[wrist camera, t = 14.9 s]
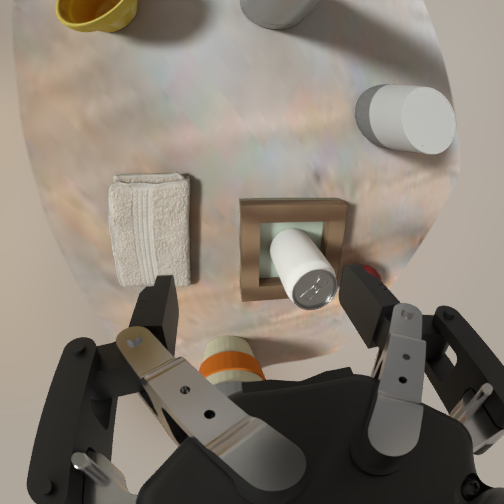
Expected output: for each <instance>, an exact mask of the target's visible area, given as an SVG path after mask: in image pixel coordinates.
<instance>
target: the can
mask: <svg viewBox="0 0 504 504" xmlns="http://www.w3.org/2000/svg"><path fill="white" fill-rule="evenodd" d="M270 255H271V258H272V260H273V263H274V265H275V268H276V270H277V272H278V275H279V277H280V279H281V282H282V284H283V287H284V289H285V291H286V293H287V295H288V297H289V298H290V299H291V300H292V301H293V302H294V303H295V304H296V305H297V306H298V307H300V308H302V309H305V310H315V309H319V308H321V307H323V306H325V305H327V304H328V303H329V302H330V301H331V300H332V299H333V297H334V296H335V294H336V292H337V287H338V284H337V279H336V275H335V271H334V269H333V268H332V266H331V265H330V263H329V262H328V261H327V259H326V258H325V257H324V255H323V254H322V253H321V251H320V250H319V249H318V247H317V246H316V245H315V244H314V242H313V241H312V240H311V239H310V237H309V236H308V235H307V234H306V233H305V232H303V231H301V230H299V229H287V230H284V231H282V232H280V233H279V234H278V235H277V236H276V237H275V238H274V239H273V241H272V243H271V246H270Z"/></svg>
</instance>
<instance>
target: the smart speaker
mask: <svg viewBox="0 0 504 504" xmlns="http://www.w3.org/2000/svg"><path fill="white" fill-rule="evenodd" d="M355 118H356V122H357V125H358V127H359V129H360V131H361V132H362V134H363V135H364V136H365V137H366V138H367V139H368V140H369V141H371V142H372V143H374V144H376V145H378V146H381V147H384V148H389V149H395V150H403V151H410V152H417V153H424V154H438V153H441V152H443V151H444V150H446V149H447V148H448V147H449V146H450V144H451V143H452V141H453V138H454V135H455V130H456V119H455V114H454V111H453V108H452V106H451V104H450V103H449V101H448V100H447V98H446V97H445V96H444V95H443V94H442V93H440V92H439V91H437V90H435V89H433V88H430V87H423V86H412V85H396V84H386V85H378V86H374V87H372V88H370V89H368V90H366V91H365V92H364V93H363V94H362V95H361V96H360V97H359V99H358V101H357V104H356V108H355Z"/></svg>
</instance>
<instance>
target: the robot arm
mask: <svg viewBox="0 0 504 504" xmlns="http://www.w3.org/2000/svg"><path fill="white" fill-rule="evenodd" d="M320 1H322V0H240V4H241V8H242V10H243V12H244V14H245V15H246V16H247V18H248V19H250V20H251V21H252V22H254V23H255V24H257V25H259V26H262V27H265V28H269V29H286V28H289V27H292V26H294V25H296V24H297V23H299V22H300V21H301V20H302V19H303V18H304V17H305V16H306V15H307V14H308V13H309V12H310V11H311V10H312V9H313V8H314V7H315V6H316V5H317V4H318V3H319V2H320ZM339 301H340V304H341V306H342V307H343V309H344V311H345V312H346V314H347V315H348V317H349V318H350V320H351V322H352V323H353V325H354V326H355V328H356V330H357V331H358V333H359V334H360V336H361V338H362V339H363V341H364V343H365V344H366V346H367V347H368V348H373V347H379V350H378V353H377V356H376V359H375V363H374V367H373V370H372V374H371V377H369V376H365V375H359V374H353V372H352V370H351V368H350V367H346V368H341V369H337V370H331V371H326V372H323V373H321V374H318V375H316V376H313V377H311V378H308V379H306V380H303V381H282V380H261V381H251V382H241V389H242V391H238V392H236V393H233V394H231V395H229V396H227V397H226V396H225V395H224V394H223V393H222V392H221V391H219V390H218V389H217V388H216V387H215V386H214V385H213V384H212V383H210V382H209V381H208V380H207V379H206V378H205V377H204V376H203V375H202V374H201V373H200V372H198V371H197V370H196V369H195V368H194V367H193V366H192V365H191V364H190V363H189V362H188V361H187V360H186V359H185V358H183V357H179V358H177V359H176V358H174V354H175V344H176V335H177V326H178V317H179V308H178V300H177V293H176V287H175V280H174V276H173V275H157V277H156V280H155V283H154V286H151V287H146V288H145V289H144V290H143V291H142V292H141V293H140V294H139V297H138V300H137V303H136V306H135V309H134V312H133V315H132V318H131V321H130V324H129V328H127V329H125V330H123V331H121V332H120V333H119V335H118V336H117V338H116V342H113V343H110V344H105V345H101V346H96V344H95V342H94V341H93V340H92V339H90V338H86V337H81V338H77V339H74V340H72V341H71V342H69V343H68V344H67V345H66V346H65V348H64V351H63V353H62V356H61V359H60V361H59V364H58V366H57V369H56V372H55V374H54V377H53V380H52V383H51V386H50V389H49V392H48V395H47V398H46V402H45V405H44V408H43V412H42V415H41V419H40V422H39V426H38V430H37V434H36V438H35V442H34V446H33V451H32V456H31V461H30V466H29V471H28V477H27V489H28V493H29V495H30V497H31V498H32V500H33V501H34V502H35V503H36V504H504V488H493V487H490V486H487V485H485V484H484V483H483V482H481V480H480V479H479V477H478V475H477V473H476V469H475V464H474V457H473V454H475V455H480V454H483V453H484V452H485V451H487V450H488V449H489V448H490V447H491V446H492V445H493V444H494V443H495V442H496V441H498V440H499V439H500V438H501V437H502V436H503V435H504V366H503V365H502V363H501V362H500V361H499V359H498V358H497V357H496V356H495V355H494V353H493V352H492V351H491V350H490V348H489V347H488V346H487V344H486V343H485V342H484V341H483V340H482V339H481V337H480V336H479V335H478V334H477V333H476V331H475V330H474V329H473V328H472V327H471V326H470V325H469V323H468V322H467V321H466V320H465V319H464V318H463V317H462V316H461V314H460V313H459V312H458V311H457V310H455V309H454V308H452V307H449V306H439V307H438V308H437V309H436V312H435V314H434V315H422V313H421V311H420V310H419V309H418V308H417V307H415V306H413V305H411V304H407V303H400V302H399V301H398V300H397V298H396V297H395V296H394V295H393V294H392V293H391V292H390V290H388V288H387V287H386V286H385V285H383V283H382V282H381V281H380V280H379V278H377V277H376V276H374V275H372V274H371V273H368V272H367V271H366V270H365V269H364V267H363V266H362V265H361V264H353V265H345V266H344V268H343V273H342V279H341V284H340V289H339ZM449 345H450V346H451V348H452V349H453V350H454V352H455V353H456V355H457V363H456V365H455V367H454V365H453V364H452V363H451V361H450V359H449V358H448V357H447V355H446V354H445V352H446V350H447V348H448V346H449ZM424 372H425V373H426V375H427V377H428V378H429V380H430V382H431V383H432V385H433V387H434V388H435V390H436V392H437V393H438V395H439V397H440V399H441V400H442V402H443V404H444V406H445V407H446V409H447V411H448V413H449V415H450V416H448V415H446V414H444V413H442V412H440V411H438V410H436V409H434V408H432V407H430V406H428V405H426V404H424V403H422V402H421V397H422V390H423V380H424ZM132 393H138V395H139V396H140V397H141V398H142V400H143V401H144V403H145V404H146V405H147V407H148V408H149V409H150V410H151V412H152V413H153V414H154V415H155V417H156V418H157V419H158V421H159V422H160V423H161V424H162V426H163V428H164V429H165V431H166V432H167V434H168V435H169V436H170V438H171V439H172V440H173V441H174V442H175V444H176V445H177V446H178V448H177V449H176V450H175V451H174V453H173V454H172V455H171V456H170V457H169V458H168V459H167V460H166V461H165V462H164V464H163V465H162V466H161V467H160V468H159V469H158V470H157V471H156V472H155V473H154V474H153V475H152V476H151V477H150V478H149V479H148V480H147V481H146V483H145V484H144V485H143V486H142V487H141V489H140V491H139V493H138V495H134V494H131V493H129V491H128V489H127V486H126V480H125V477H124V475H123V474H122V473H121V471H119V469H117V468H116V467H115V466H114V465H113V464H112V463H111V455H112V443H113V432H114V424H115V414H116V407H117V400H118V397H119V396H123V395H127V394H132Z"/></svg>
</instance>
